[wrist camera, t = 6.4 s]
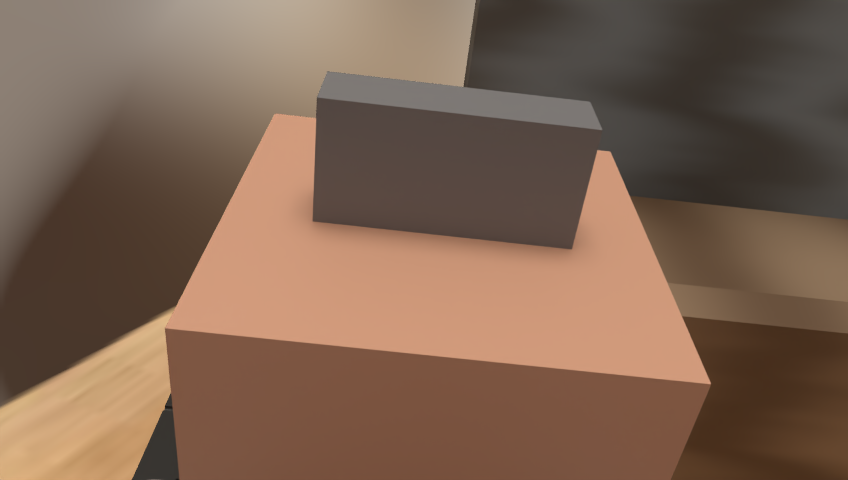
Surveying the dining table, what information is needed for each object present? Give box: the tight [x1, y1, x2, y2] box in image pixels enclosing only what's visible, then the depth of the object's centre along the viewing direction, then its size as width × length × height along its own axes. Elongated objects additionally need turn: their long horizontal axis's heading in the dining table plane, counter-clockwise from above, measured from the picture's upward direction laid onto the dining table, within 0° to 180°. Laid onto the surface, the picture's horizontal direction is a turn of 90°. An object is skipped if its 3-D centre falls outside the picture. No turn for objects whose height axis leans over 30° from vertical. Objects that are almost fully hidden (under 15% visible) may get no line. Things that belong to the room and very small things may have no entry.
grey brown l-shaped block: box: [464, 0, 848, 480], centre depth 19 cm, size 14×10×18 cm
